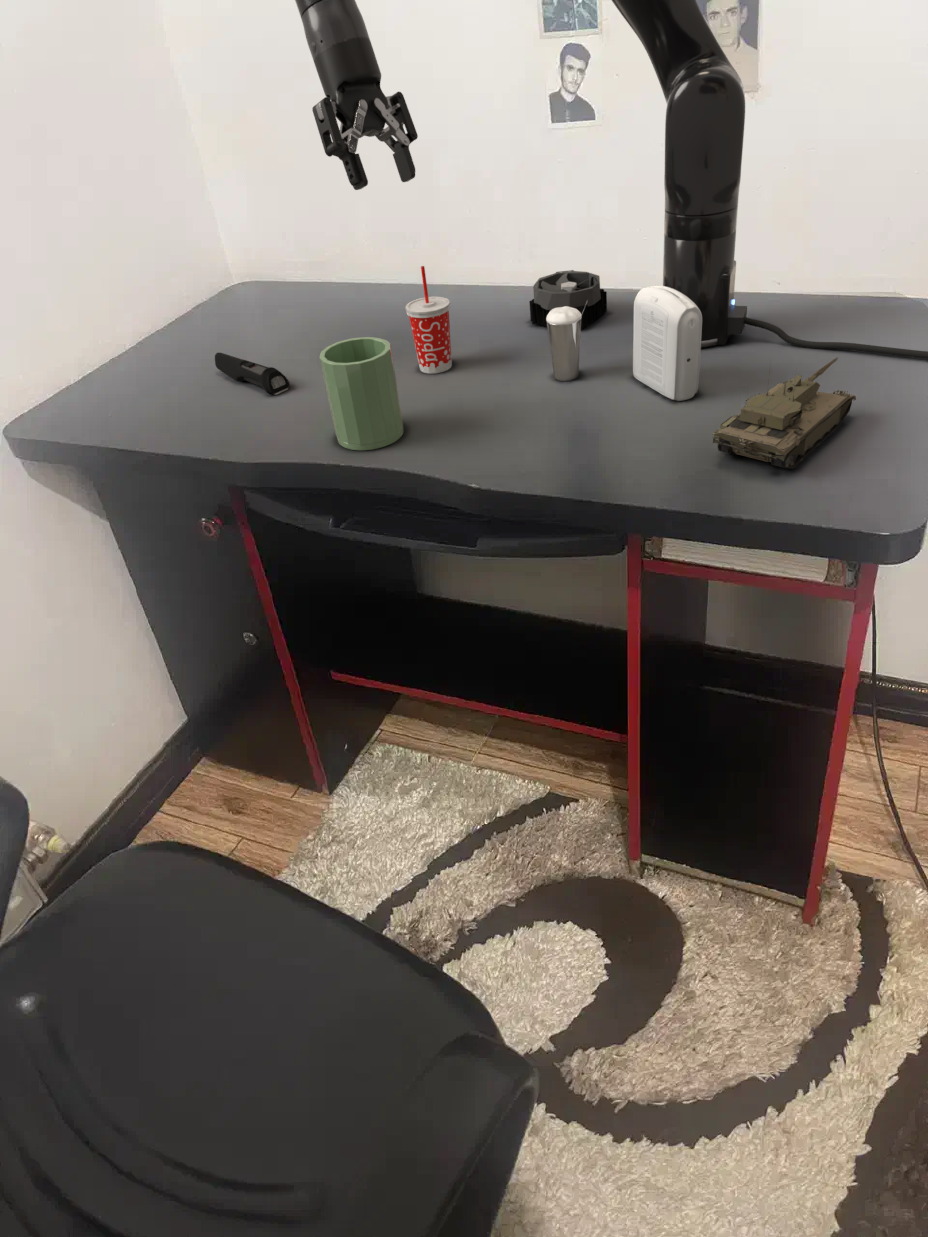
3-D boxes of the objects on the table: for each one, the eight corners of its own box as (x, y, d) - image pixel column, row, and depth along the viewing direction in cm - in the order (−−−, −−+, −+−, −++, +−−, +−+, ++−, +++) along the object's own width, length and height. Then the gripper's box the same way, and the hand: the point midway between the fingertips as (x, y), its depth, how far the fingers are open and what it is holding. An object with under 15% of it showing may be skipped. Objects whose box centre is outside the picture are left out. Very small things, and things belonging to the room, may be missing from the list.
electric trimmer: (233, 366, 140) (227, 346, 138) (292, 387, 130) (287, 366, 128) (212, 375, 138) (206, 355, 136) (271, 397, 128) (265, 375, 126)
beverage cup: (407, 374, 129) (392, 273, 121) (425, 357, 134) (411, 259, 125) (447, 376, 127) (434, 274, 119) (463, 359, 131) (452, 259, 123)
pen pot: (414, 422, 117) (401, 338, 110) (387, 452, 111) (371, 365, 104) (355, 418, 120) (339, 335, 113) (326, 448, 114) (307, 363, 107)
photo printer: (703, 395, 114) (709, 295, 106) (674, 404, 113) (678, 304, 105) (655, 369, 121) (657, 274, 114) (628, 378, 120) (628, 282, 113)
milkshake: (587, 382, 120) (585, 307, 114) (547, 383, 122) (543, 308, 116) (590, 368, 124) (589, 294, 118) (551, 369, 125) (547, 296, 119)
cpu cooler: (579, 295, 131) (519, 288, 136) (580, 334, 134) (522, 325, 139) (614, 272, 137) (555, 266, 142) (614, 310, 140) (557, 303, 146)
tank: (702, 467, 100) (707, 380, 94) (798, 390, 112) (807, 309, 106) (777, 488, 95) (787, 397, 89) (868, 404, 107) (882, 320, 101)
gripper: (314, 35, 107) (363, 179, 111) (400, 32, 116) (442, 166, 120) (280, 65, 112) (328, 201, 117) (365, 61, 121) (406, 187, 125)
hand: (386, 183), depth 118 cm, fingers open, 8 cm apart
